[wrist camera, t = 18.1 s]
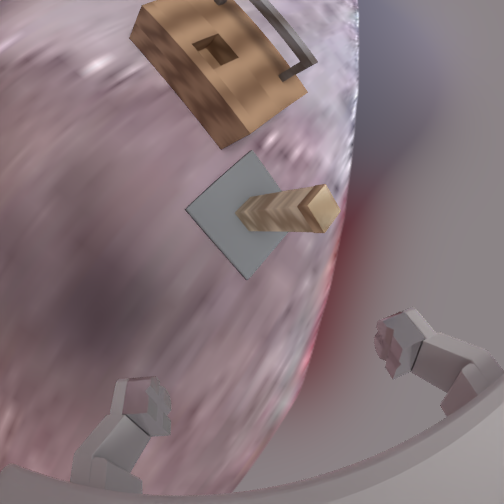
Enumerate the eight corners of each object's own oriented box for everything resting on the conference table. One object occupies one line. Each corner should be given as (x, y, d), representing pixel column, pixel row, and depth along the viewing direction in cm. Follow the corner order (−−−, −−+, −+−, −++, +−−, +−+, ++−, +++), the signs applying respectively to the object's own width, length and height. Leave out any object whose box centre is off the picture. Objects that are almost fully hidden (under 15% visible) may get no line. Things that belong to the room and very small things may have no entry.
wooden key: (234, 212, 39) (307, 205, 27) (250, 196, 41) (325, 184, 28) (249, 231, 41) (324, 233, 28) (264, 215, 42) (340, 210, 30)
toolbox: (129, 38, 28) (156, -27, 16) (197, 12, 33) (239, -39, 21) (221, 149, 38) (283, 117, 26) (276, 108, 43) (339, 78, 31)
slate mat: (184, 209, 36) (186, 209, 35) (250, 150, 41) (252, 150, 40) (245, 279, 42) (247, 280, 41) (297, 218, 47) (299, 218, 46)
